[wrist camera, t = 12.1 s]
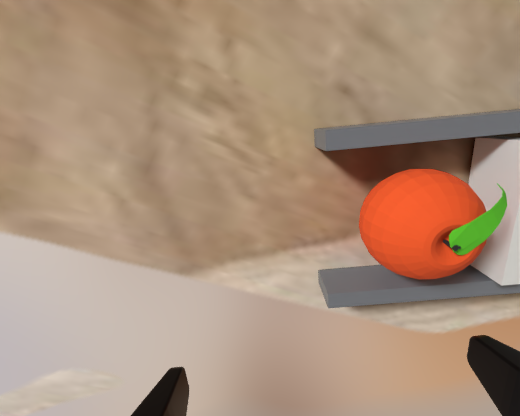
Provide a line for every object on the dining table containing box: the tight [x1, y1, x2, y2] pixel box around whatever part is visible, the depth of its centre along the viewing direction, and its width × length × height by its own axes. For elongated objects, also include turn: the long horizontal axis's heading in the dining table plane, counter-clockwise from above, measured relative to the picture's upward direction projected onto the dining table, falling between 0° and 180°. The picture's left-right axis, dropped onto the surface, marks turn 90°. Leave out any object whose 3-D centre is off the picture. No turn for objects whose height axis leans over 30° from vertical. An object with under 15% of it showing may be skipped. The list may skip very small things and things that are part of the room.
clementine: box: [359, 169, 507, 280], centre depth 17 cm, size 8×7×7 cm
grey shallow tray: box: [314, 109, 520, 308], centre depth 18 cm, size 16×12×4 cm
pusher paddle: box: [468, 136, 520, 286], centre depth 18 cm, size 1×9×4 cm, turn 5°
